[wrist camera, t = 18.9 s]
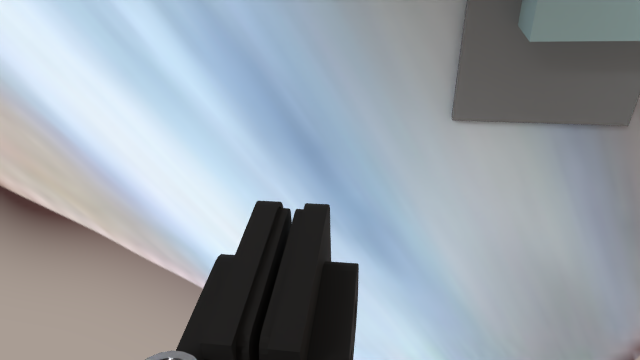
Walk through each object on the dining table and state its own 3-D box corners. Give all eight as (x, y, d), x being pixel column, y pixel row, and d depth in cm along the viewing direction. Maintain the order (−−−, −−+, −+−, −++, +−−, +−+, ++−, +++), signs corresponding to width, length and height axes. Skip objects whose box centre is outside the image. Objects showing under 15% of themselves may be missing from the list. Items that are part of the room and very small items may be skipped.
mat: (478, -85, 26) (480, -84, 26) (699, -89, 25) (705, -88, 24) (451, 116, 33) (452, 120, 32) (624, 121, 31) (628, 125, 31)
